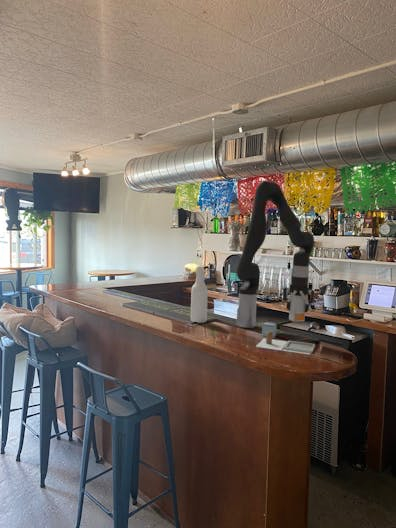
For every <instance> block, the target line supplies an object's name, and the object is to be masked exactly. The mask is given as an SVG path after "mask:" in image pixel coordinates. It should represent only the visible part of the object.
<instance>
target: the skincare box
mask: <svg viewBox="0 0 396 528" xmlns="http://www.w3.org/2000/svg"><path fill="white" fill-rule="evenodd" d="M307 296H308V295H306V296H305V297H306V298H308V297H307ZM305 305H306V303H305V301H304V299H303V297H302V296H298V295H293V297H292V299H291V300H290V310H288V311H289V315H288V320H289V321H291V322H293V323H294V322H305V317H306V312H305Z"/></svg>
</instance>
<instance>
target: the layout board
mask: <svg viewBox="0 0 396 528" xmlns="http://www.w3.org/2000/svg"><path fill="white" fill-rule="evenodd" d="M255 347H256V348H263V349H268V350H269V349H270V350H276V351H284V352H290V353H295V354H296V353H297V354H304V355H309V356H310V355H311V354H313V352H314V350H315V348H316V343H311V342H302V341H294V340H288V341H287V340H281V339H273V338H272V332H270V331H267V335H266V337H264V338H262V339H261V340H260V342H258V343H257V344H256V346H255Z"/></svg>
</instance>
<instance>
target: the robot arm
mask: <svg viewBox="0 0 396 528" xmlns="http://www.w3.org/2000/svg"><path fill="white" fill-rule="evenodd" d="M267 202H271V203H273V205H274V206H275V207H276V209H277V212H278V218H279V222H280V223H281V225H283V227H284V228H285V230H286V231H287V235H288V237H289V240H290V242H291V244H292V245H293V246H294V247H296V248H299V250H298V251H297V252H295V253H294V254H293V259H292V260H293V262H292V269H291V278H290V287H287V286H284V287H283V295H282V300H283V301H284V302H286V309H287V310H288V311H290V300H291V299H292V297H293V295H298V296H302V297H303V299H304V301H305V303H306V305H305V313H308V312H309V309H310V305H311V304H313V303H314V299H315V293H316V292H315V290H314V289H309V288H308V287H309V275H310V268H309V267H310V257H311V253H312V251H313V247H314V244H315V237H314V235H313V234H312V233H311V232H309V231H302V230H301V228H302V222H301V221H300V220H299V219H298V217H297V216H296V214H295V213H294V212H293V210H292V209H291V207H290V204H289V203H288V201H287V198H286V197H285V194H284V193H283V190H282V188H281V186H280V185H279V184H278V183H276V182H274V181H269V180H262V181H260V182H259V183H258V184H257V185H256V188H255V193H254V201H253V208H252V213H251V217H250V222H249V224H248V230H247V233H246V234H247V235H246V239H245V243H244V246H243V250H242V253H241V256H240V258H239V260H238V261H239V262H238V264H237V268H236V275H237V276H236V277H237V278H238V279H239V280H240V281H242V282H243V281H244V284H243V285H241V286H240V287H239V289H238V290H239V291H238V307H237V309H236V327H240V328H243V329H244V328H247V329H250V328H251V329H252V328H255V327H256V322H257V321H256V319H257V300H258V299H257V298H258V296H257V295H258V290H259V286H260V277H261V270H260V266H259V265H258V264H257V263H255V262H253V261H254V258H255V255H256V253H257V252H258V251H259V250H260V248H261V247H262V245H263V244H264V242H265V239H266V236H267V232H268V221H267V216H266V208H267V207H266V206H267ZM288 292H290V293H291V294H290V296H289V297H288V296H287V295H288ZM307 294H309V295H310V300H309V298H308V297H307V298H306V297H305V296H307Z"/></svg>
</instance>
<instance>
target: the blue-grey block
mask: <svg viewBox="0 0 396 528" xmlns="http://www.w3.org/2000/svg"><path fill="white" fill-rule="evenodd" d="M277 326H278V324H277V322H268V321H264V322H263V323H262V325H261V337H264V338H266V335H267V331H270V332H272V339H273V338H276V337H277V329H278V327H277Z"/></svg>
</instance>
